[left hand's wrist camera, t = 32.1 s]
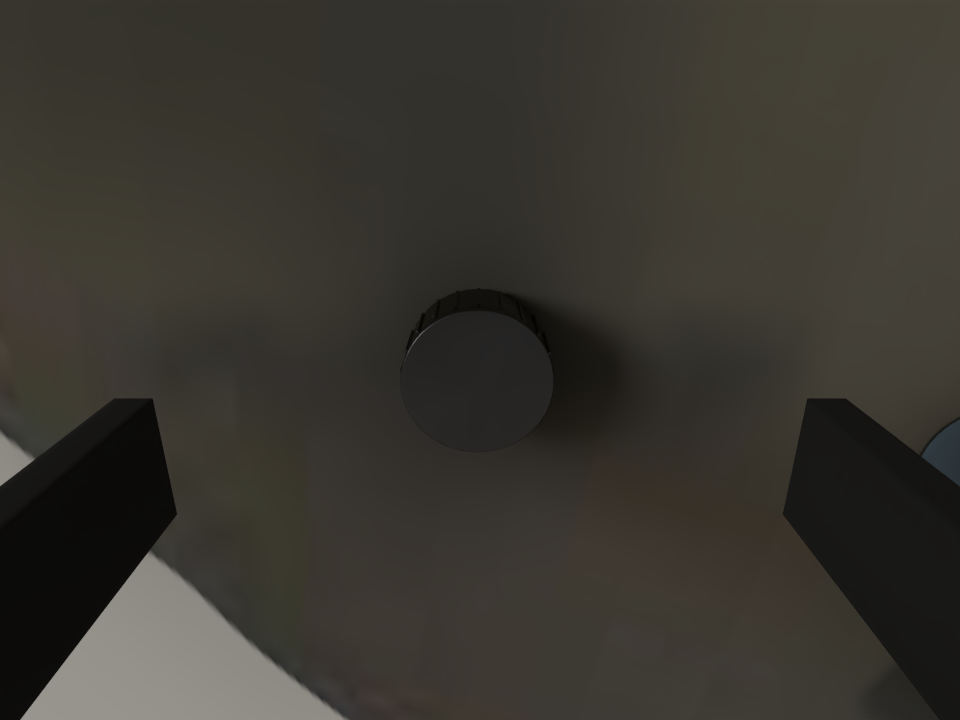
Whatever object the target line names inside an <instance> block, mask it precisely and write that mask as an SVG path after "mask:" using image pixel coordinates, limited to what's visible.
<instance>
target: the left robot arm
mask: <svg viewBox="0 0 960 720" xmlns="http://www.w3.org/2000/svg"><path fill="white" fill-rule="evenodd" d="M176 515H177V512H176V507H175V503H174V498H173V493H172V488H171V484H170V479H169V474H168V469H167V465H166V460H165V455H164V450H163V446H162V441H161V436H160V432H159V427H158V422H157V417H156V413H155V408H154V403H153V399H113V400H112V401H111V402H109V403H108V404H107V405H105V406H104V407H103V408H101V409H100V410H99V411H98V412H96V413H95V414H94V415H92V416H91V417H90V418H88V419H87V420H86V421H85V422H83V423H82V424H81V425H79V426H78V427H77V428H75V429H74V430H73V431H72V432H70V433H69V434H68V435H66V436H65V437H64V438H62V439H61V440H60V441H59V442H57V443H56V444H55V445H53V446H52V447H51V448H49V449H48V450H47V451H46V452H44V453H43V454H42V455H40V456H39V457H38V458H36V459H35V460H34V461H33V462H31V463H30V464H29V465H27V466H26V467H25V468H23V469H22V470H21V471H20V472H18V473H17V474H16V475H14V476H13V477H12V478H10V479H9V480H8V481H7V482H5V483H4V484H3V485H1V486H0V720H20V719H21V718H22V717H23V715H24V714H25V713H26V711H27V710H28V709H29V707H30V706H31V705H32V704H33V702H34V701H35V700H36V698H37V697H38V696H39V694H40V693H41V692H42V690H43V689H44V688H45V687H46V685H47V684H48V682H49V681H50V680H51V679H52V677H53V676H54V675H55V673H56V672H57V671H58V669H59V668H60V667H61V665H62V664H63V663H64V662H65V660H66V659H67V658H68V656H69V655H70V654H71V652H72V651H73V650H74V649H75V647H76V646H77V645H78V643H79V642H80V641H81V639H82V638H83V637H84V635H85V634H86V633H87V631H88V630H89V629H90V628H91V626H92V625H93V624H94V622H95V621H96V620H97V618H98V617H99V616H100V614H101V613H102V612H103V611H104V609H105V608H106V607H107V605H108V604H109V603H110V601H111V600H112V599H113V597H114V596H115V595H116V593H117V592H118V591H119V590H120V588H121V587H122V586H123V584H124V583H125V582H126V580H127V579H128V578H129V576H130V575H131V574H132V573H133V571H134V570H135V569H136V567H137V566H138V565H139V563H140V562H141V561H142V559H143V558H144V557H145V556H146V554H147V553H148V552H149V550H150V549H151V548H152V546H153V545H154V544H155V542H156V541H157V540H158V539H159V537H160V536H161V535H162V533H163V532H164V531H165V529H166V528H167V527H168V525H169V524H170V523H171V521H172V520H173V519H174V518H175V516H176ZM783 515H784V516H785V518H786V519H787V520H788V521H789V523H790V524H791V525H792V527H793V528H794V529H795V531H796V532H797V533H798V535H799V536H800V537H801V539H802V540H803V541H804V542H805V544H806V545H807V546H808V548H809V549H810V550H811V552H812V553H813V554H814V556H815V557H816V558H817V559H818V561H819V562H820V563H821V565H822V566H823V567H824V569H825V570H826V571H827V573H828V574H829V575H830V576H831V578H832V579H833V580H834V582H835V583H836V584H837V586H838V587H839V588H840V590H841V591H842V592H843V594H844V595H845V596H846V597H847V599H848V600H849V601H850V603H851V604H852V605H853V607H854V608H855V609H856V611H857V612H858V613H859V614H860V616H861V617H862V618H863V620H864V621H865V622H866V624H867V625H868V626H869V628H870V629H871V630H872V632H873V633H874V634H875V635H876V637H877V638H878V639H879V641H880V642H881V643H882V645H883V646H884V647H885V649H886V650H887V651H888V652H889V654H890V655H891V656H892V658H893V659H894V660H895V662H896V663H897V664H898V666H899V667H900V668H901V670H902V671H903V672H904V673H905V675H906V676H907V677H908V679H909V680H910V681H911V683H912V684H913V685H914V687H915V688H916V689H917V690H918V692H919V693H920V694H921V696H922V697H923V698H924V700H925V701H926V702H927V704H928V705H929V706H930V707H931V709H932V710H933V711H934V713H935V714H936V715H937V717H938V718H939V719H940V720H960V486H959V485H957V484H956V483H955V482H953V481H952V480H951V479H950V478H948V477H947V476H946V475H944V474H943V473H942V472H940V471H939V470H938V469H937V468H935V467H934V466H933V465H931V464H930V463H929V462H927V461H926V460H925V459H924V458H922V457H921V456H920V455H918V454H917V453H916V452H914V451H913V450H912V449H911V448H909V447H908V446H907V445H905V444H904V443H903V442H901V441H900V440H899V439H898V438H896V437H895V436H894V435H892V434H891V433H890V432H888V431H887V430H886V429H885V428H883V427H882V426H881V425H879V424H878V423H877V422H875V421H874V420H873V419H872V418H870V417H869V416H868V415H866V414H865V413H864V412H862V411H861V410H860V409H859V408H857V407H856V406H855V405H853V404H852V403H851V402H849V401H848V400H847V399H807V403H806V408H805V413H804V417H803V422H802V427H801V432H800V436H799V441H798V446H797V450H796V455H795V460H794V465H793V469H792V474H791V479H790V484H789V488H788V493H787V498H786V503H785V507H784V512H783Z"/></svg>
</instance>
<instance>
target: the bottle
mask: <svg viewBox="0 0 960 720" xmlns="http://www.w3.org/2000/svg"><path fill="white" fill-rule="evenodd" d="M921 457H922V458H924V459H925V460H926V461H927V462H929V463H930V464H931V465H933V466H934V467H935V468H937V469H938V470H939V471H940V472H942V473H943V474H944V475H946V476H947V477H948V478H950V479H951V480H952V481H953V482H955V483H956V484H957V485H959V486H960V419H959V420H957V421H955V422H954V423H952V424H951V425H949V426H948V427H946V428H945V429H944V430H942V431H941V432H940V433H939V434H938V435H937V436H936V437H935V438H934V439H933V440H932V441H931V442H930V444H929V445H928V446H927V448H926V449H925V451H924V452H923V454H922V456H921Z"/></svg>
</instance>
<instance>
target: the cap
mask: <svg viewBox="0 0 960 720" xmlns="http://www.w3.org/2000/svg"><path fill="white" fill-rule="evenodd" d="M405 352H406V355H405V358H404V361H403V364H402V368H401V371H400V373H401V390H402V396H403V399H404V403H405V405H406V408H407V410H408V412H409V414H410V415H411V417H412V419H413V420H414V421H415V423H416V424H417V425H418V426H419V427H420V428H421V429H422V430H423V431H424V432H425V433H426V434H427V435H429V436H430V437H431V438H432V439H434V440H436V441H438V442H439V443H441V444H443V445H446V446H448V447H451V448H454V449H457V450H462V451H468V452H487V451H493V450H498V449H501V448H504V447H507V446H509V445H512V444H514V443H516V442H517V441H519V440H521V439H522V438H524V437H525V436H526V435H528V434H529V433H530V432H531V431H532V430H533V429H534V428H535V427H536V426H537V425H538V424H539V422H540V421H541V420H542V419H543V417H544V415H545V413H546V412H547V410H548V407H549V405H550V402H551V399H552V395H553V389H554V370H553V367H552V363H551V360H550V357H549V355H551V352H550V349H549V346H548V343H547V340H546V337H545V334H544V333H542V331H541V329H540V327H539V325H538V323H537V320H536V317H535V315H533V316H532V314H531V313H530V312H529V311H528V310H527V309H526V308H525V307H524V306H523V305H522V304H521V302H520V301H518V302H517V301H516V300H514V299H513V298H511V297H509V296H507V295H505V294H502V292H500V291H499V292H495V291H490V290H482V289H480V288H478V289H473V290H465V291H460V292H459V291H456V293H453V294H450V295H448V296H446V297H444V298H442V299H441V300H439V299H438V300H437V302H436V303H435V304H434V305H432V306H431V307H430V308H429V309H428V310H427V311H426V312H425V313H422V314H421V317H420V320H419V322H418V323H417V325H416V327H415V329H414V331H413V330H412V331H411V334H410V337H409V340H408V343H407V346H406V349H405Z"/></svg>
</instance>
